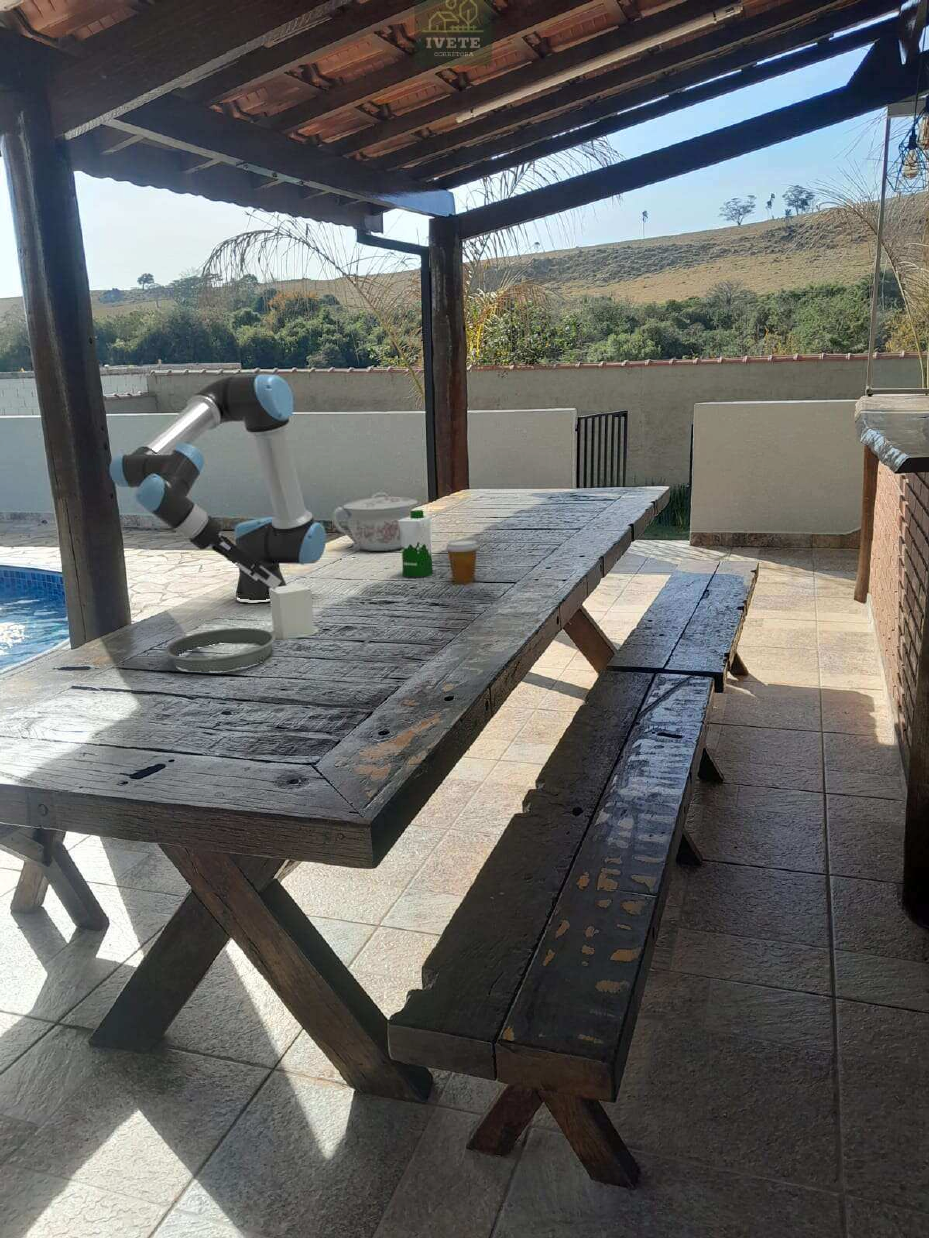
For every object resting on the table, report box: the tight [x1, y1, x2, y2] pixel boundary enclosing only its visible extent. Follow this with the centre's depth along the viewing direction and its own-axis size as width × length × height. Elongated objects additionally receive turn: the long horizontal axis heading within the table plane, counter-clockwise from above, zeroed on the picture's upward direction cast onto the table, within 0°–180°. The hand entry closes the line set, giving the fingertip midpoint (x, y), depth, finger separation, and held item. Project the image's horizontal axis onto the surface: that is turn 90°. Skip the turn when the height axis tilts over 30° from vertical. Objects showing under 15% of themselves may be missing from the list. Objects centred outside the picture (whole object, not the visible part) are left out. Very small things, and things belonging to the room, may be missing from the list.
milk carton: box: [398, 509, 434, 579], centre depth 290 cm, size 9×9×20 cm
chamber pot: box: [332, 492, 419, 552], centre depth 339 cm, size 28×28×21 cm
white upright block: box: [269, 582, 315, 639], centre depth 229 cm, size 8×8×11 cm
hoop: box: [164, 627, 277, 672], centre depth 212 cm, size 25×25×4 cm
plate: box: [270, 625, 319, 640], centre depth 231 cm, size 12×12×1 cm
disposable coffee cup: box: [445, 539, 479, 585], centre depth 278 cm, size 10×10×12 cm
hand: (268, 580), depth 224 cm, fingers open, 13 cm apart
